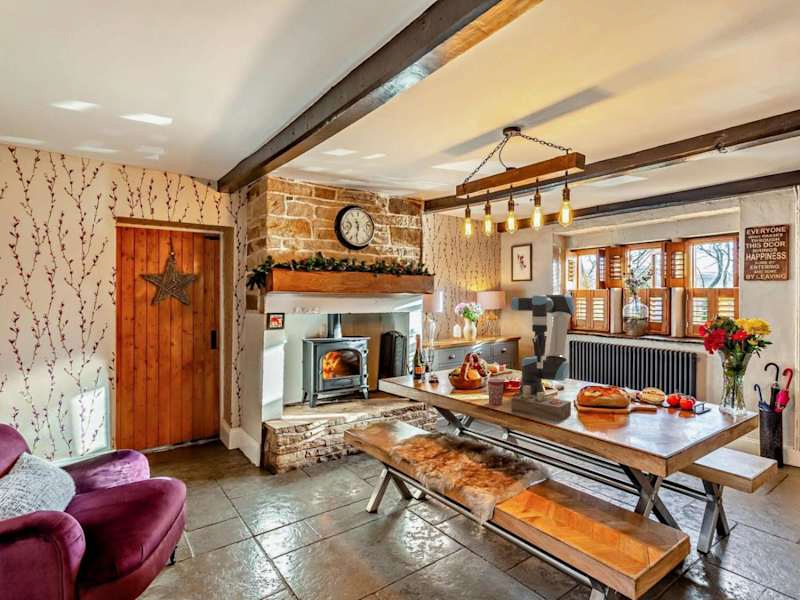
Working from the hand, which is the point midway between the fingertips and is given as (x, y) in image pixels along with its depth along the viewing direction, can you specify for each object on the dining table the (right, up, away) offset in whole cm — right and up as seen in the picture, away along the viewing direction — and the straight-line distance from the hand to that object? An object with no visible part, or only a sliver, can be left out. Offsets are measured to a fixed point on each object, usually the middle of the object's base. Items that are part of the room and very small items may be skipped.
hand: (539, 368), depth 237 cm
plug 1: (-7, -18, 0) cm, 20 cm away
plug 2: (+5, -22, -10) cm, 25 cm away
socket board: (-1, -23, -5) cm, 23 cm away
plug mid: (-1, -21, -5) cm, 21 cm away
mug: (-19, -23, +15) cm, 33 cm away
